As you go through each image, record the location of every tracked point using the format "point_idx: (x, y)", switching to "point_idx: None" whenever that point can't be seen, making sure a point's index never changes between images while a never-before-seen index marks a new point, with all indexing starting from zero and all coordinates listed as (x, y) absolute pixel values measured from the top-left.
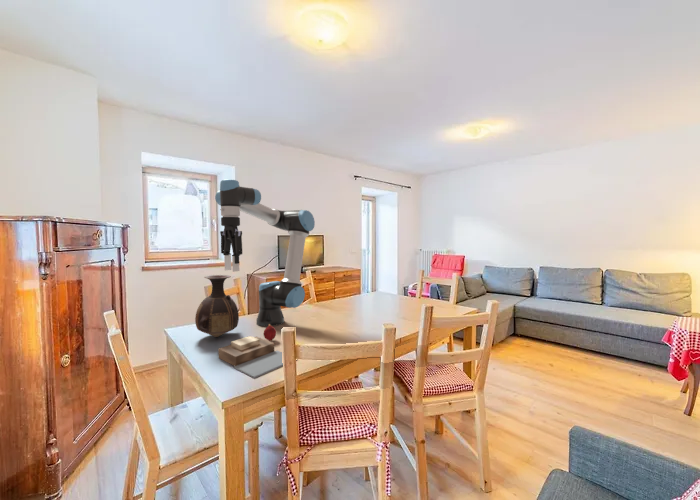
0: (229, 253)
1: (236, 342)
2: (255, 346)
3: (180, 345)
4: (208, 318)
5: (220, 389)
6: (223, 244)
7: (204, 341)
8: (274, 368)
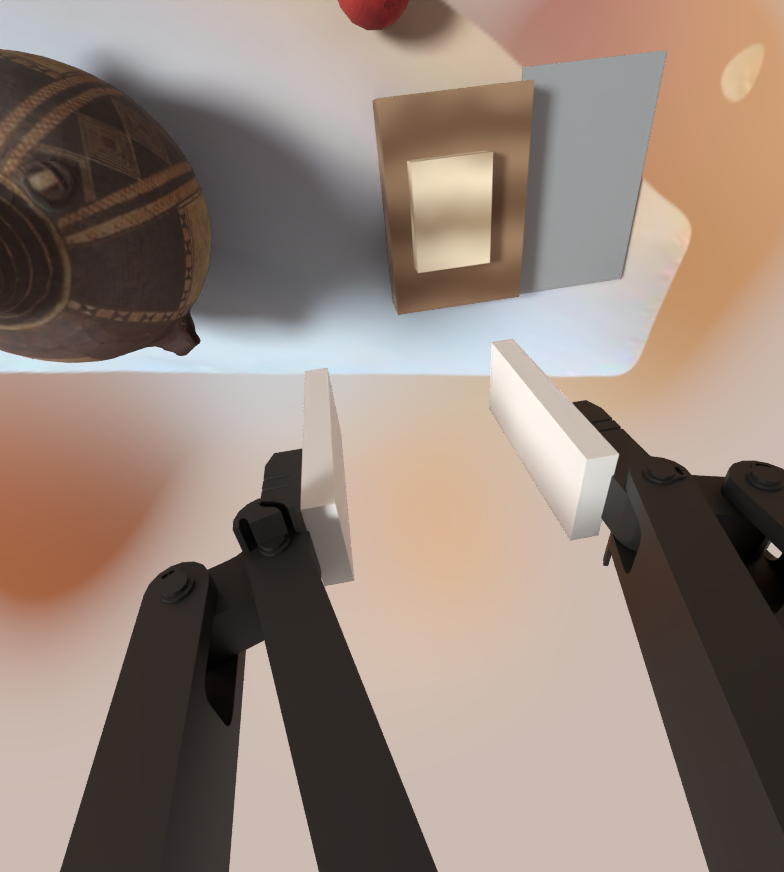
0: (304, 543)
1: (444, 259)
2: (495, 184)
3: (160, 369)
4: (181, 319)
5: (584, 366)
6: (219, 839)
7: None
8: (636, 192)
